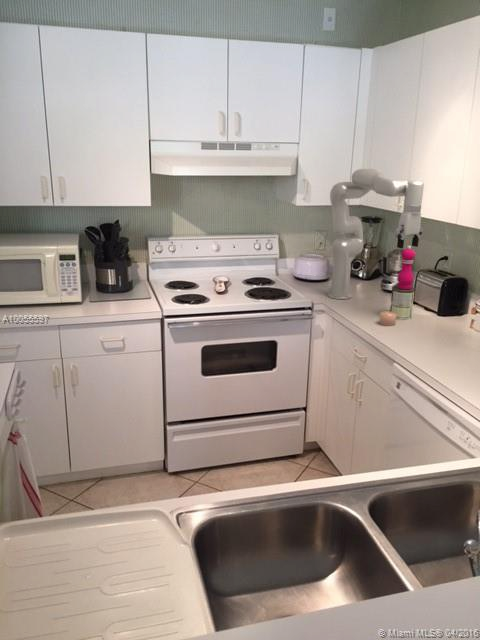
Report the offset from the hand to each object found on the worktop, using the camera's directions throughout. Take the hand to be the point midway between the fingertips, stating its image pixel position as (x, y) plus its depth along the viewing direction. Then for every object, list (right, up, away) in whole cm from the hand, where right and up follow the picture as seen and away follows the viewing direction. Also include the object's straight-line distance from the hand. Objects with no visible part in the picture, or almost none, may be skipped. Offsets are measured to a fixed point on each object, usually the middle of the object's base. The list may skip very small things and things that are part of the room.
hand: (407, 247), depth 244 cm
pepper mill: (0, -19, +5) cm, 19 cm away
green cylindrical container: (0, -32, +10) cm, 34 cm away
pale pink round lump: (-10, -35, -1) cm, 37 cm away
